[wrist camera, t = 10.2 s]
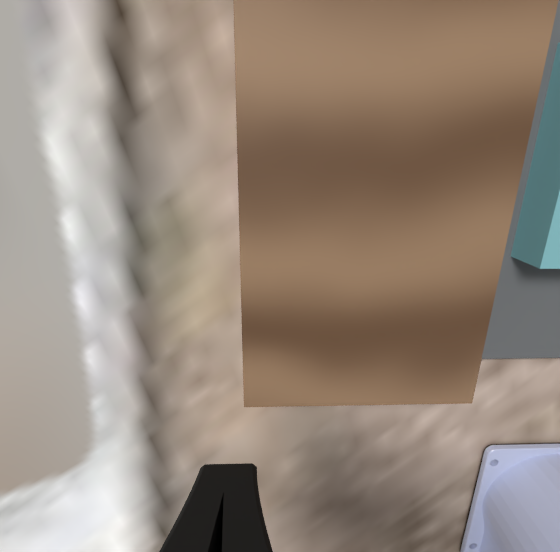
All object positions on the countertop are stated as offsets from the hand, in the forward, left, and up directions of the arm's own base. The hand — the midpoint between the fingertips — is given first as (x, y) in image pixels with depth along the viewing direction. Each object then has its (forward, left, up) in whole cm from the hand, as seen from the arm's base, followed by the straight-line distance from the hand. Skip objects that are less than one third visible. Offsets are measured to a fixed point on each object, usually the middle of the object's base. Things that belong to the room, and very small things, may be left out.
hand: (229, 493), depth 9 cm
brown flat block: (+8, -5, -10) cm, 14 cm away
